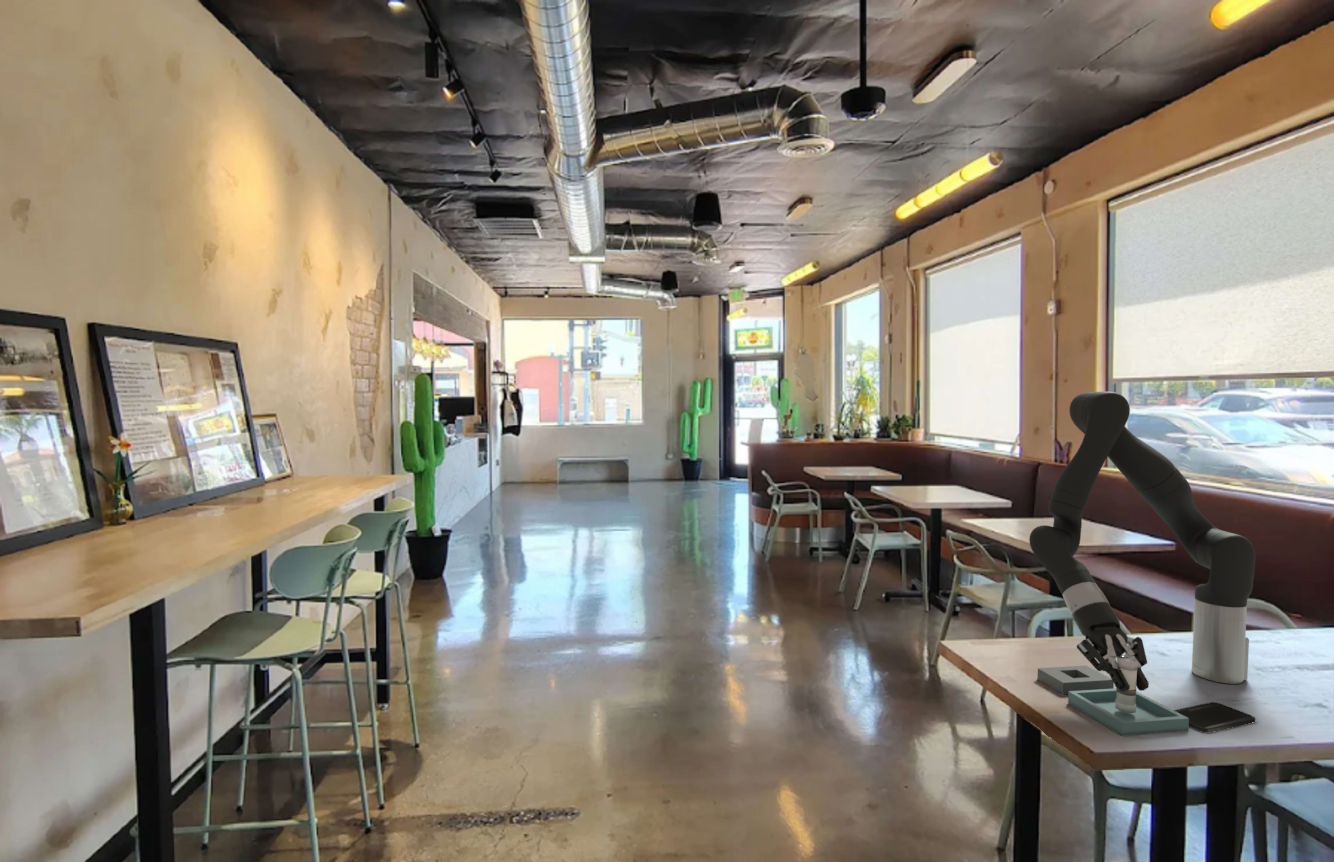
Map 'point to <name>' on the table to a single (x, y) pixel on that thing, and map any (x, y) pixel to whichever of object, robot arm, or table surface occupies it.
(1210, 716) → the phone
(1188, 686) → the table surface
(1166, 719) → the parts tray
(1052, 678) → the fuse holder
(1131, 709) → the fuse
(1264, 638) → the table surface
